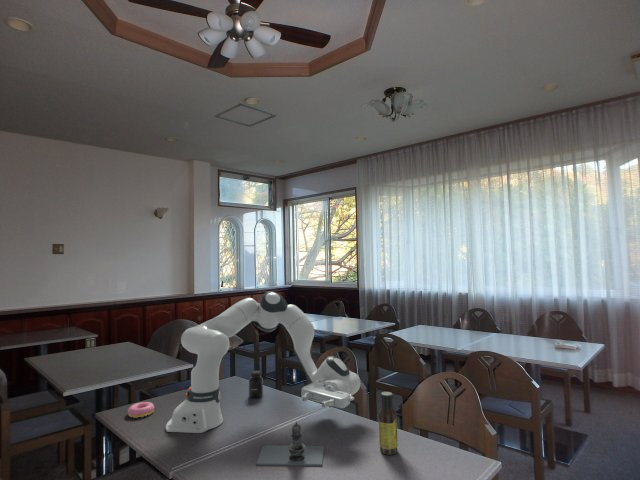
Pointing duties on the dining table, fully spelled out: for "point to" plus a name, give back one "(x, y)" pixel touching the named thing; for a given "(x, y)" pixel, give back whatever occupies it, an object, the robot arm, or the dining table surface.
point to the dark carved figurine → (296, 444)
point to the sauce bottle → (387, 425)
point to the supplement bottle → (255, 385)
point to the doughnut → (141, 409)
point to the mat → (281, 455)
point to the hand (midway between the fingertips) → (313, 402)
